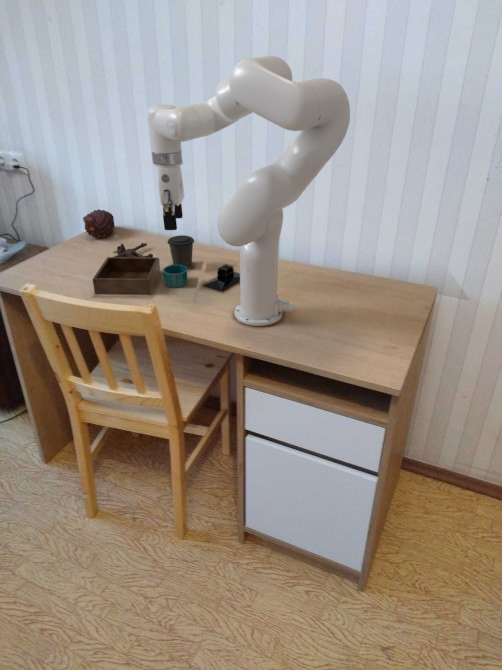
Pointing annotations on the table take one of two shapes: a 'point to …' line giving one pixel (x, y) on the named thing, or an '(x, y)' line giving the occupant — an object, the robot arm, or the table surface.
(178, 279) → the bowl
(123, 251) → the brown branch
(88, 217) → the pine cone
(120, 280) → the open wooden box
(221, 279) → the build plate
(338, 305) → the table surface
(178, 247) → the coffee cup
